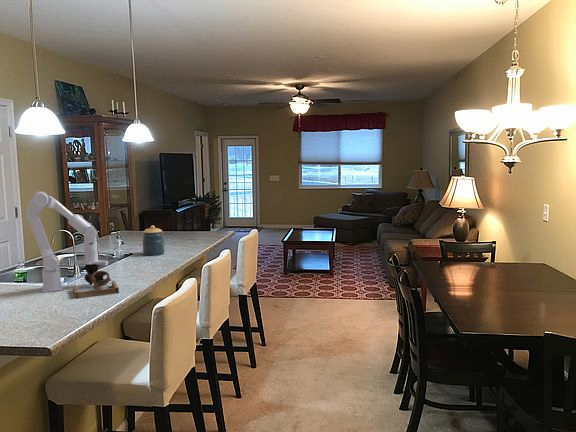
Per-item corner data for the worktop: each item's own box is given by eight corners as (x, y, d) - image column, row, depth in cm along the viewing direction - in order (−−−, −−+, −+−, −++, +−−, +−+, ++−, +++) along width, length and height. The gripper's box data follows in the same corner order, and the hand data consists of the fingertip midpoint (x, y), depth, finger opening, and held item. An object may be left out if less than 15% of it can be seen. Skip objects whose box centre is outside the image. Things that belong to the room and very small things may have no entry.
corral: (73, 290, 217) (73, 285, 216) (114, 285, 224) (114, 280, 224) (75, 298, 204) (75, 293, 204) (118, 292, 212) (118, 287, 212)
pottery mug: (113, 284, 228) (114, 271, 224) (105, 298, 220) (106, 284, 216) (87, 278, 227) (87, 265, 223) (79, 292, 219) (79, 278, 215)
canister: (159, 256, 290) (158, 227, 288) (139, 255, 292) (137, 226, 290) (168, 252, 303) (167, 224, 301) (148, 251, 305) (147, 223, 303)
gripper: (71, 253, 221) (73, 282, 223) (102, 253, 220) (104, 282, 222) (78, 250, 228) (80, 278, 230) (109, 250, 227) (110, 278, 229)
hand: (92, 280), depth 226 cm, fingers closed
